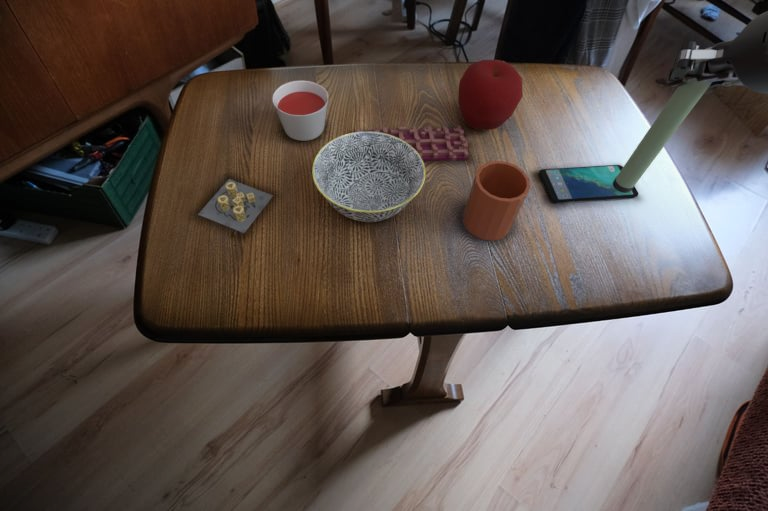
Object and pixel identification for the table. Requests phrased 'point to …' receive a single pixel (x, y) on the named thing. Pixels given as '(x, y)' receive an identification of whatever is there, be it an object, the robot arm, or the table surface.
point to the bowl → (368, 175)
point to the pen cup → (495, 200)
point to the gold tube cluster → (236, 205)
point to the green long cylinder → (659, 134)
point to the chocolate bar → (432, 142)
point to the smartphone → (583, 183)
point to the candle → (301, 109)
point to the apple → (489, 94)
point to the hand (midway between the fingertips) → (686, 79)
